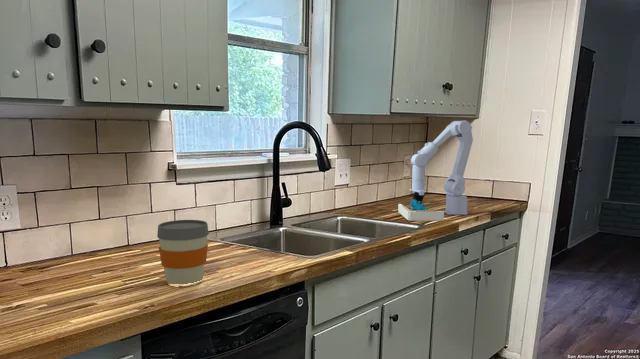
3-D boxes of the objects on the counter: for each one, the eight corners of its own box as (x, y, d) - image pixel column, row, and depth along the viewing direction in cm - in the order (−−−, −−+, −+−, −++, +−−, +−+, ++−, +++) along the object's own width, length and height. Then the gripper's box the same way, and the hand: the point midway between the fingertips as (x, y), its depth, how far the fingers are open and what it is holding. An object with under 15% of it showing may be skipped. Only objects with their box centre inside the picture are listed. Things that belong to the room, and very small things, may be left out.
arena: (430, 211, 223) (430, 203, 222) (443, 220, 200) (444, 210, 200) (398, 211, 222) (398, 203, 222) (408, 220, 200) (408, 211, 199)
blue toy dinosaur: (417, 215, 202) (408, 198, 208) (410, 223, 206) (401, 205, 212) (435, 216, 208) (425, 199, 214) (427, 224, 212) (417, 207, 218)
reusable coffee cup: (191, 271, 126) (190, 217, 125) (219, 280, 118) (218, 223, 117) (149, 282, 117) (147, 224, 115) (176, 293, 109) (175, 231, 107)
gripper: (406, 178, 220) (405, 206, 222) (413, 181, 206) (412, 211, 207) (420, 178, 220) (420, 206, 222) (429, 181, 206) (428, 211, 207)
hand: (417, 208), depth 215 cm, fingers closed
